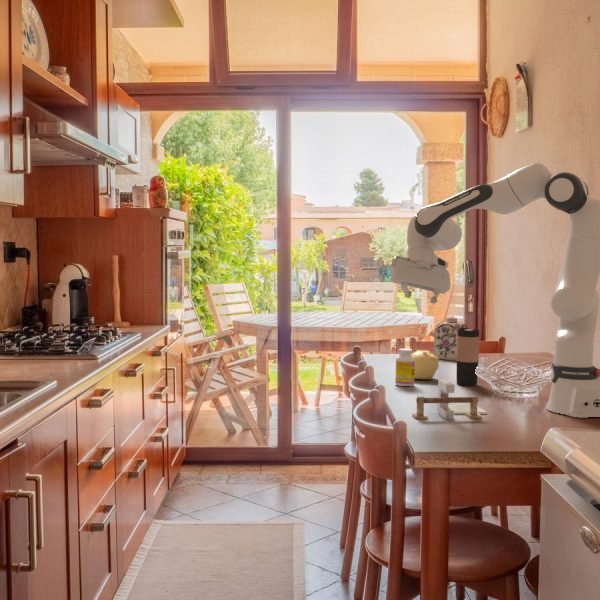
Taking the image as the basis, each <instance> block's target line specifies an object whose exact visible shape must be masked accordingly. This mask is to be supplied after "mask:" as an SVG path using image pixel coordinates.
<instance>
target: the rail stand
mask: <svg viewBox="0 0 600 600" xmlns="http://www.w3.org/2000/svg"><path fill="white" fill-rule="evenodd" d="M415 401H416V413H413V412H412V414H411V415H412V417H413V419H414V420H428V419H429V415H427V414H426V413H425V412H424V411H425V409H424V408H425V407H424V406H425V404H438V403H448V404H461V403H462V404H463V403H465V404H469V405H470V413H465V414H464V416H466V417H467V418H468V419H482V417H483V414H479V413H477V406H478V403H479V397H478V396H477V395H471V396H464V397H463V396H460V397H459V396H458V397H457V396H455V397H454V396H452V397H451V396H450V397H449V396H448V397H438V396H437V397H425V396H421V395H420V396H417V397H416V398H415Z"/></svg>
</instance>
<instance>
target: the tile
mask: <svg viewBox="0 0 600 600" xmlns="http://www.w3.org/2000/svg"><path fill="white" fill-rule="evenodd" d="M448 407H449V408H451V409H452V410H453V411H454V415H457V416H458V415H465V413H470V404H448ZM477 413H479V414H480V415H488V411H486V410H485V409H483V408H482V407H481V406H480V407H479V406H478V405H477Z"/></svg>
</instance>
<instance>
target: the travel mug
mask: <svg viewBox="0 0 600 600" xmlns="http://www.w3.org/2000/svg"><path fill="white" fill-rule="evenodd" d="M479 349H480V329H479V328H473V329H469V327H467V328H459V329H458V338H457V361H456V386H457V385H458V386H460V387H476V386H477V385H478V376H477V375H476V374H475V369H476V367H477V366H478V367H479V358H480V357H479V353H480V350H479Z"/></svg>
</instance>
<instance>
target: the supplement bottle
mask: <svg viewBox="0 0 600 600" xmlns="http://www.w3.org/2000/svg"><path fill="white" fill-rule="evenodd" d="M412 353H413V349H412V348H399V349H398V354H399V355H397V357H396V358H395V379H394V380H395V382H394V383H395V385H396V386H397V385H398V386H399V387H403V386H410V387H413V386H414V385H415V379H414V374H415V359H414V357H412ZM398 386H397V387H398Z"/></svg>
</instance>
